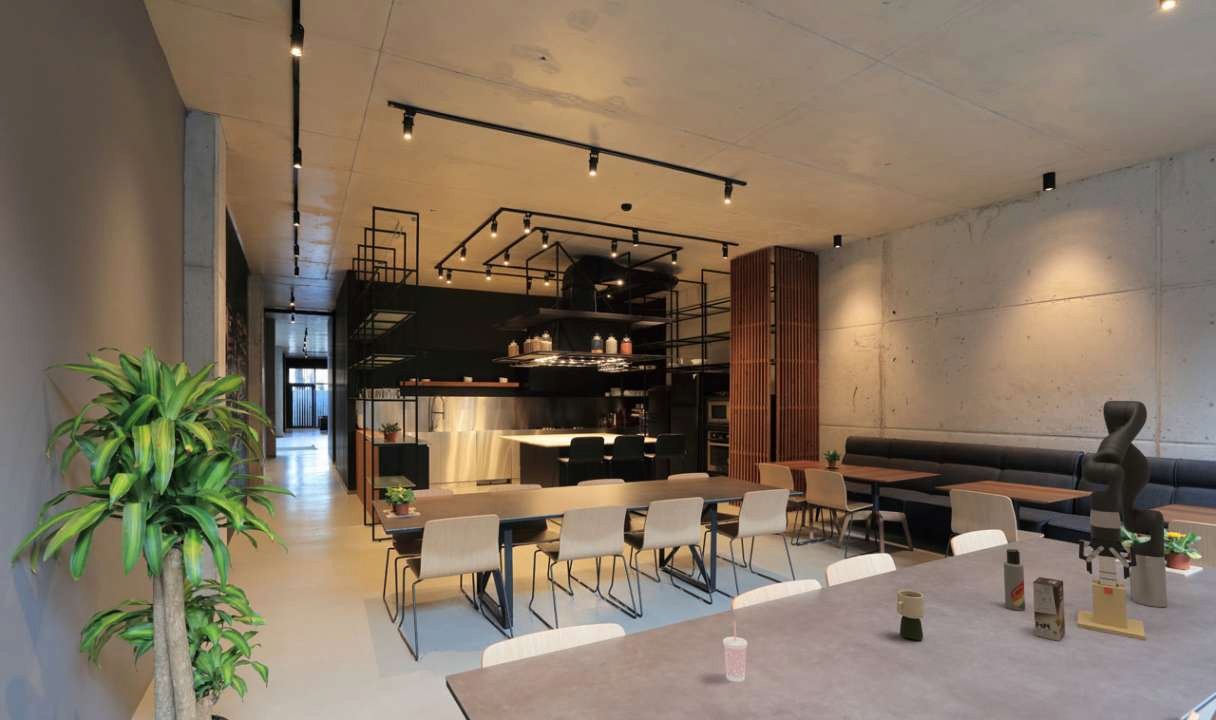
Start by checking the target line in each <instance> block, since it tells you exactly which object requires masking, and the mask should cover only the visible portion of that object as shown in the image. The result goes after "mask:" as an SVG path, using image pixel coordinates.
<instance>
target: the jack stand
mask: <svg viewBox="0 0 1216 720" xmlns="http://www.w3.org/2000/svg"><path fill="white" fill-rule="evenodd" d="M1116 585H1117V587H1113V586H1107V585H1100V579H1096V578H1092V582H1091V589H1092V590H1091V591H1092V606H1093V607H1092V608H1093V612H1091V611H1085V610H1081V609H1080V610H1078V614H1077V615H1078V617H1077V628H1080V629H1085V630H1091V631H1095V630H1096V632H1100V631H1101V632H1102V633H1105V632H1106V634H1110V633H1112V634H1111V635H1116V634H1118V635H1117V636H1121V635H1123V636H1122V637H1126V636H1127V638H1131V637H1133V638H1132V639H1136V638H1138V639H1137V640H1141V639H1143V640H1142V641H1146V634H1145V628H1144V623H1143V621H1141V620H1137V619H1136V620H1135V619H1129V618H1127V600H1126V586H1125V585H1126V584H1125V583H1122V582H1116ZM1101 632H1100V633H1101Z"/></svg>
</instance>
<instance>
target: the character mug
mask: <svg viewBox="0 0 1216 720" xmlns="http://www.w3.org/2000/svg"><path fill="white" fill-rule="evenodd" d="M924 597H925V596H924V594H923V593H921V592H918V591H914V590H908V589H907V590H906V589H901V590H897V597H896V598H897V599H896V600H897V601H896V611H897V613H899V615H900V616H901V619H900V628H899V635H900V636H901V637H905V638H907V639H911V640H923V639H924V633H923V626H922V621H921V619H922V618H924V616H925V600H924Z"/></svg>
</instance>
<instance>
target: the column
mask: <svg viewBox="0 0 1216 720" xmlns="http://www.w3.org/2000/svg"><path fill="white" fill-rule="evenodd" d="M1098 563H1099V567H1098V570H1099V571H1098V572H1099V580H1100V585H1107V586H1113V587H1117V585H1116V583H1117V580H1118V579H1117V570H1116V569H1117V568H1116V557H1110V556H1102V555H1098Z"/></svg>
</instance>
